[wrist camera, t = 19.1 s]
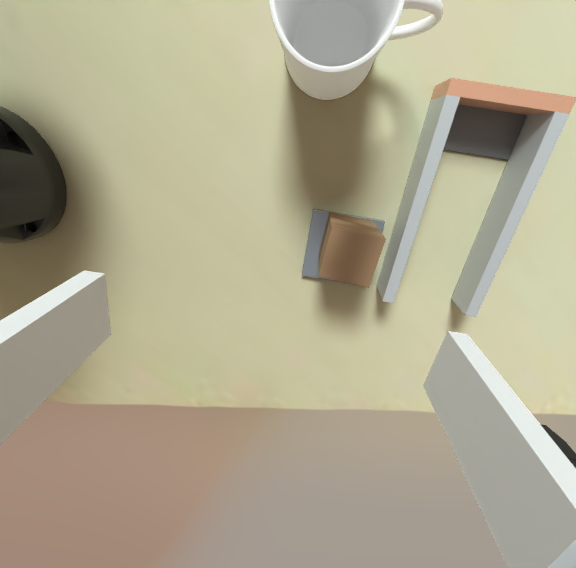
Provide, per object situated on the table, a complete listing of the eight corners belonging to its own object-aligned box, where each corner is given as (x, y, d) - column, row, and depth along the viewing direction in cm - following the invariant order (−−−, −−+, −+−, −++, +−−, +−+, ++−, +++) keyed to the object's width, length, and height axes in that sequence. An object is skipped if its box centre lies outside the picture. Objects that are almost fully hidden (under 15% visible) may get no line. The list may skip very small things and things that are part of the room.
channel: (376, 286, 39) (382, 301, 35) (435, 85, 30) (451, 78, 26) (460, 300, 38) (475, 316, 35) (545, 102, 30) (577, 97, 26)
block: (318, 253, 37) (318, 276, 31) (329, 211, 35) (331, 226, 28) (359, 262, 37) (368, 287, 31) (373, 221, 35) (385, 239, 28)
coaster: (301, 273, 39) (301, 275, 38) (313, 208, 35) (313, 210, 35) (366, 284, 39) (366, 286, 38) (383, 220, 35) (384, 221, 35)
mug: (423, -6, 27) (494, -106, 16) (400, 106, 31) (445, 87, 20) (288, -16, 28) (269, -119, 17) (280, 96, 31) (260, 71, 20)
